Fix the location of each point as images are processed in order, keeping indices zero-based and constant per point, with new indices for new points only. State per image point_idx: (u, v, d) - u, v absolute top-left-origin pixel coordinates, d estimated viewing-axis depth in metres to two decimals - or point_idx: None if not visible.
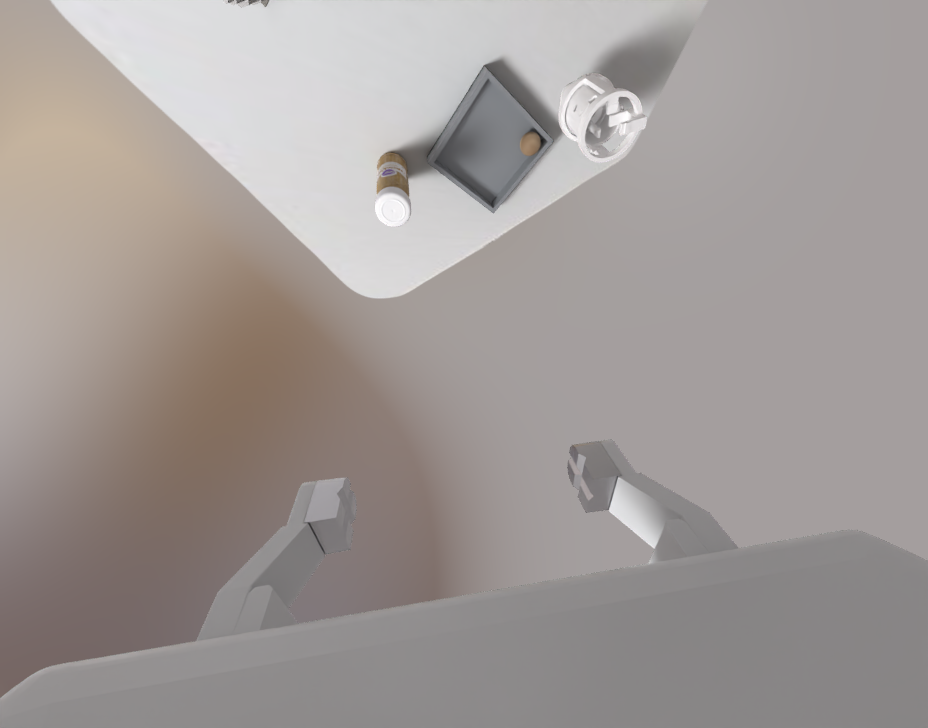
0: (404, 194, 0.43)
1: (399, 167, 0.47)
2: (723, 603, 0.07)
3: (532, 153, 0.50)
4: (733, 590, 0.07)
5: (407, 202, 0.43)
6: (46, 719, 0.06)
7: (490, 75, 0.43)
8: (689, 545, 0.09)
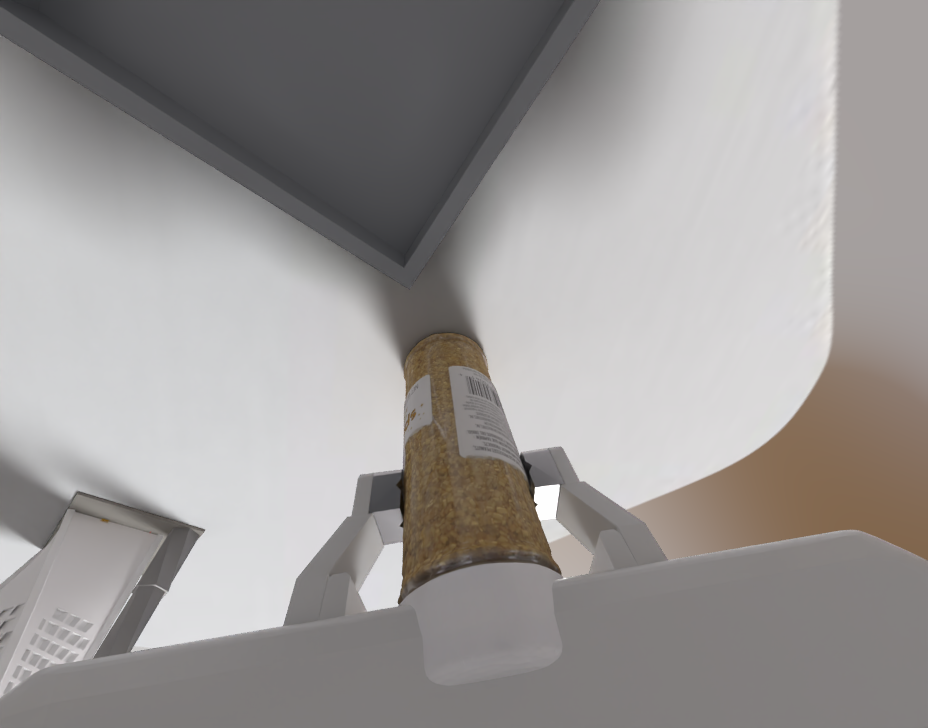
0: None
1: (408, 411, 0.13)
2: (723, 603, 0.07)
3: None
4: (733, 590, 0.07)
5: (449, 674, 0.06)
6: (46, 719, 0.06)
7: None
8: (619, 557, 0.08)
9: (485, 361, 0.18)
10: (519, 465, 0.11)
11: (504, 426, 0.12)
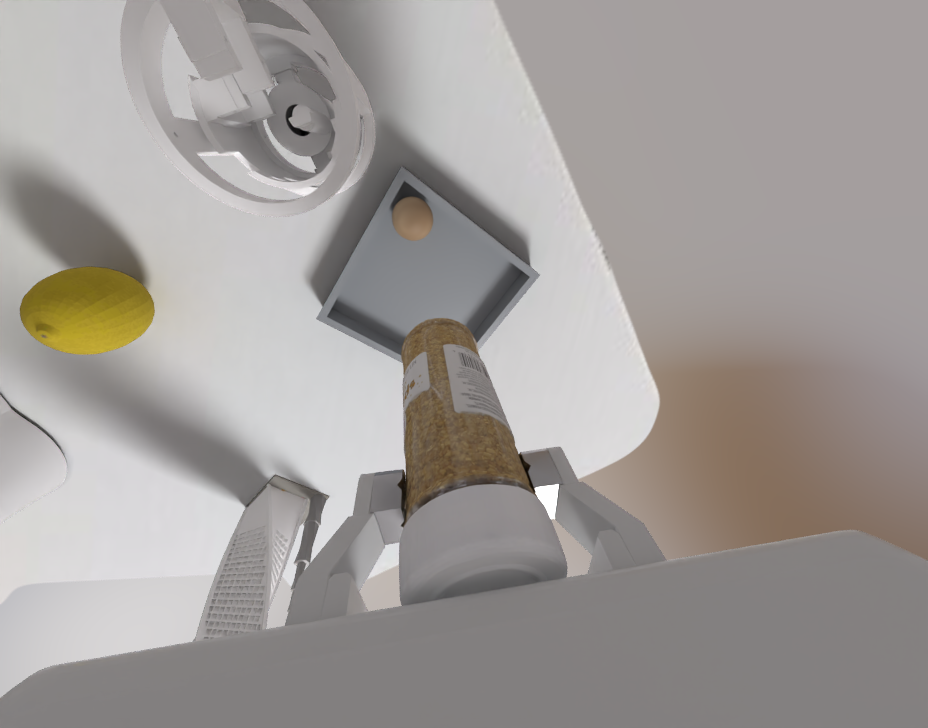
0: (421, 536, 0.09)
1: (407, 382, 0.15)
2: (723, 603, 0.07)
3: (424, 218, 0.24)
4: (733, 590, 0.07)
5: (449, 558, 0.08)
6: (46, 719, 0.06)
7: (322, 313, 0.27)
8: (617, 557, 0.08)
9: (475, 344, 0.19)
10: (505, 422, 0.13)
11: (492, 393, 0.14)
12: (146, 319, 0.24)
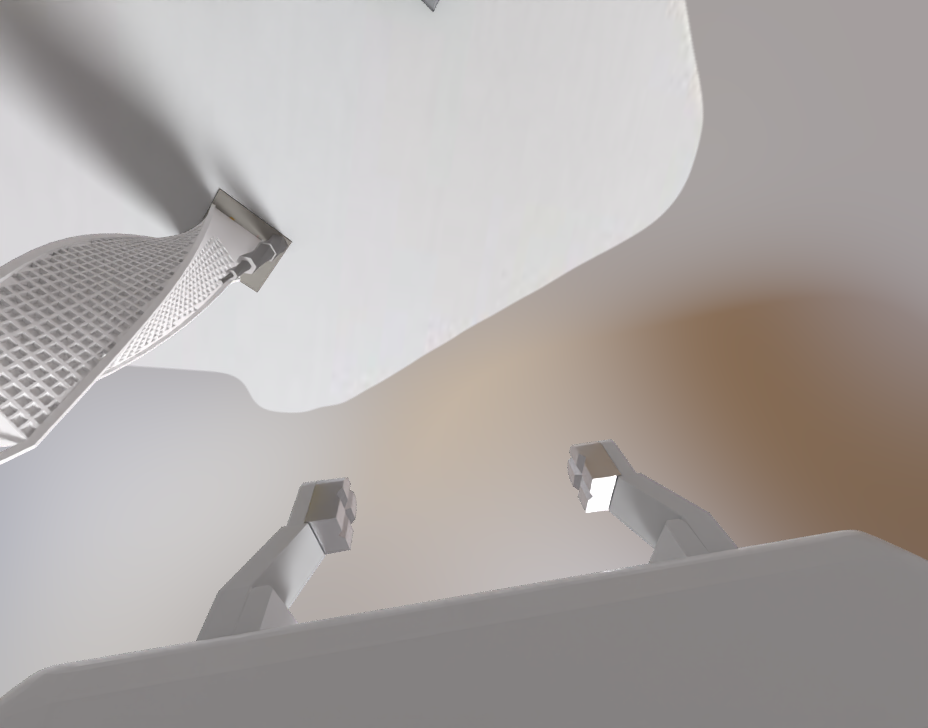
0: None
1: None
2: (723, 603, 0.07)
3: None
4: (733, 590, 0.07)
5: None
6: (46, 719, 0.06)
7: None
8: (689, 545, 0.09)
9: None
10: None
11: None
12: None
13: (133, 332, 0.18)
